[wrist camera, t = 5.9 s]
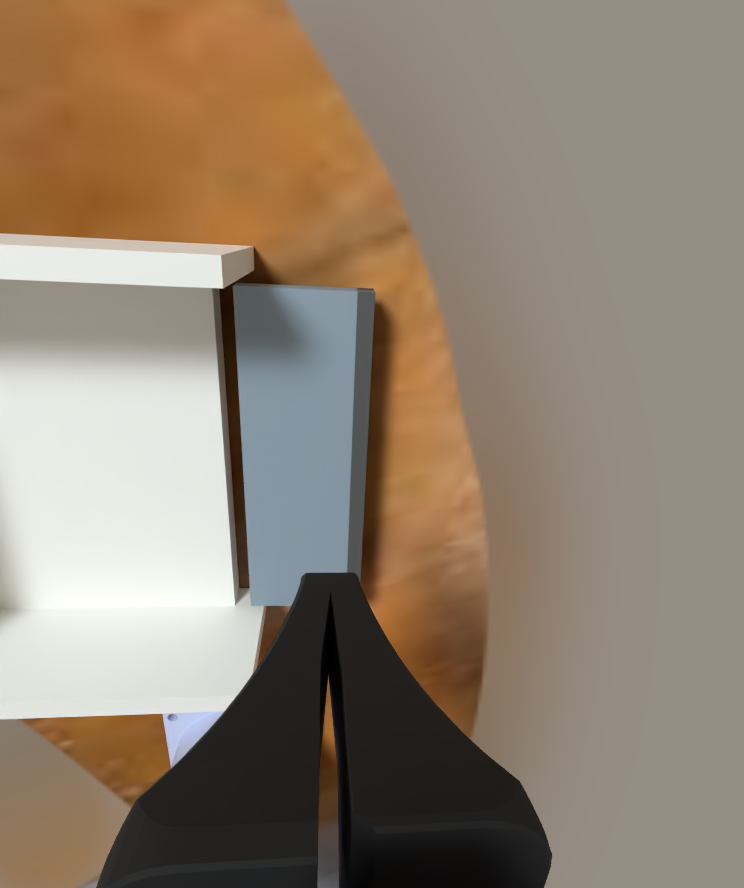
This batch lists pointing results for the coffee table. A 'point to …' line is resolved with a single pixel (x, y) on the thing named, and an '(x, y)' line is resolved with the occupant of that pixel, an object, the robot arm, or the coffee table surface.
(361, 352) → the door panel
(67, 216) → the coffee table surface
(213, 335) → the white cubby shelf
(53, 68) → the coffee table surface
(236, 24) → the coffee table surface
